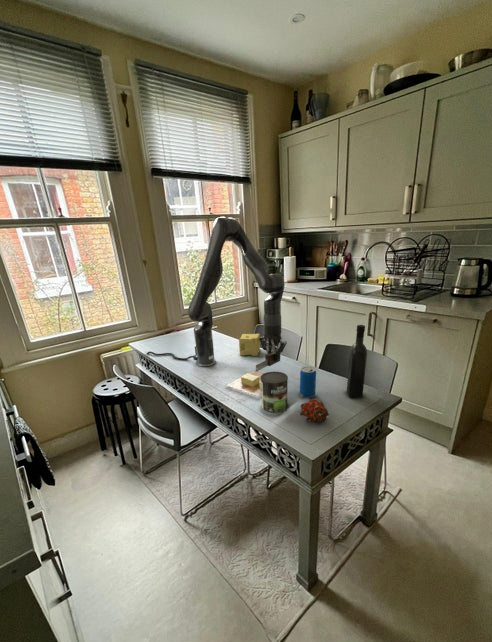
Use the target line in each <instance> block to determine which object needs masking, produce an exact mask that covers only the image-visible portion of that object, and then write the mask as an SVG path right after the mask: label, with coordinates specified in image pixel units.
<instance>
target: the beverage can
mask: <svg viewBox="0 0 492 642" xmlns="http://www.w3.org/2000/svg"><path fill="white" fill-rule="evenodd" d="M316 386H317V371H316V368H315V367H313V366H302V367H301V369H300V371H299V393H300V394H301V395H302V398H305V399H311V398H313V397H315V395H316Z"/></svg>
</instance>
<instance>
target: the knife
mask: <svg viewBox="0 0 492 642" xmlns="http://www.w3.org/2000/svg"><path fill="white" fill-rule="evenodd" d="M271 351H272V352H270V353H267V352H266V353H265V354H264V355H265V357H264V360H262V361H260V362H258V363H257V364H255V370H256V372H257V371H259V372H260V371H261V370H263V369H265V368H267V367H271V366H273V365H275V364H278V363H279V362H281V353H279V359H278V360H277V361H276V362H274V351H273V350H271Z"/></svg>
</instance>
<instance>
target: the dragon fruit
mask: <svg viewBox="0 0 492 642" xmlns="http://www.w3.org/2000/svg"><path fill="white" fill-rule="evenodd" d="M300 408H301V409H300V410H301V411H299V415H300V417H306V421H307V422H312V423H315V424H317V423H321V422H322V423H324V422H327V417H328V416H330V414H329V411H328V409H327V407H326V406H325V404H324V402H322V401H318V400H317V399H310V400H309V401H308V402H304V403H301V404H300Z"/></svg>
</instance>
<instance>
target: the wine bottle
mask: <svg viewBox="0 0 492 642" xmlns="http://www.w3.org/2000/svg"><path fill="white" fill-rule="evenodd" d="M355 331H356V336H355V343H353V344H352V345H351V347H350V350H349V359H348V371H347V383H346V394H347V396H348V398H350V399H361V398H362V397H363V396H364V386H365V379H366V370H367V369H366V368H367V359H368V349H367V347H366V345H365V344H364V338H365V332H366V325H364V324H357V325H356V329H355Z"/></svg>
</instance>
